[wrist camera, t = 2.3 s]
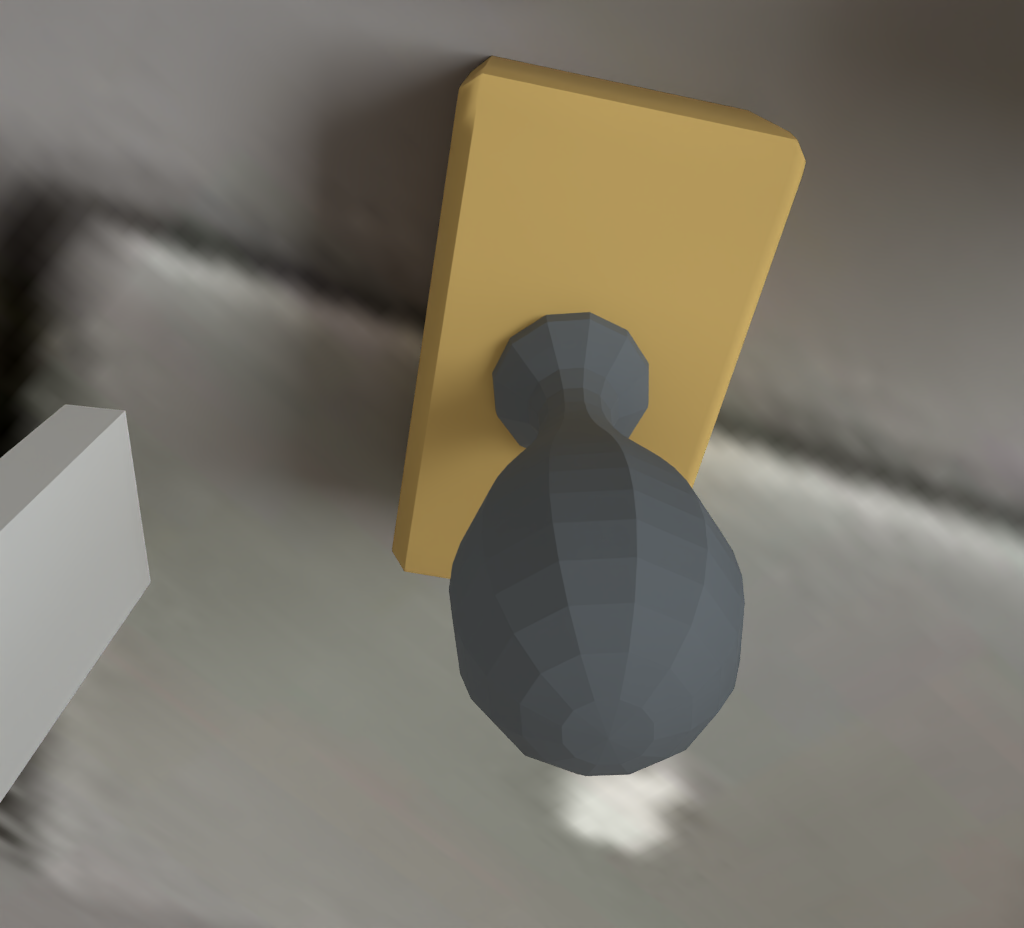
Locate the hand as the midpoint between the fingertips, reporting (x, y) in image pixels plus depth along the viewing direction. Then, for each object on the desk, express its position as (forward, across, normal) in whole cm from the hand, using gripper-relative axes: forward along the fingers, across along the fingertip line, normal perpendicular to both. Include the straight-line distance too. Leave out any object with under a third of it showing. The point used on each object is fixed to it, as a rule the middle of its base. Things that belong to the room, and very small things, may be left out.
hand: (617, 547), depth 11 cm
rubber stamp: (+9, 0, 0) cm, 9 cm away
